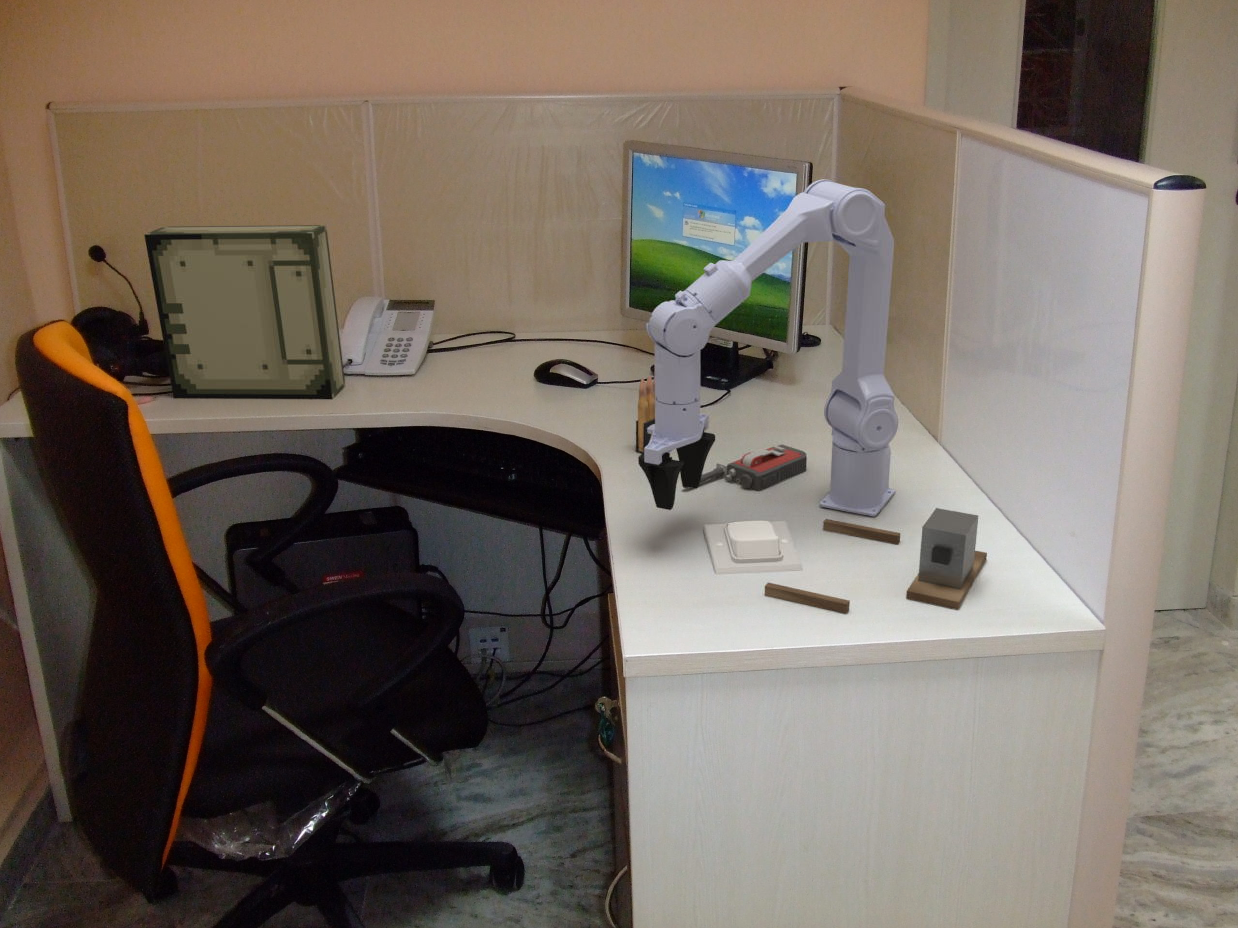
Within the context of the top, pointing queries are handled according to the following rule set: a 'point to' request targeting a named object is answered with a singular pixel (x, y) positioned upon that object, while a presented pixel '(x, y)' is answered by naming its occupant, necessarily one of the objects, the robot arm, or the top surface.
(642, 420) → the ammunition clip
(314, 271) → the control panel
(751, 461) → the walkie-talkie
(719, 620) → the top surface
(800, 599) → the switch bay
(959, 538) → the junction box
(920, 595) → the mounting board
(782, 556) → the light switch
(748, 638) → the top surface
